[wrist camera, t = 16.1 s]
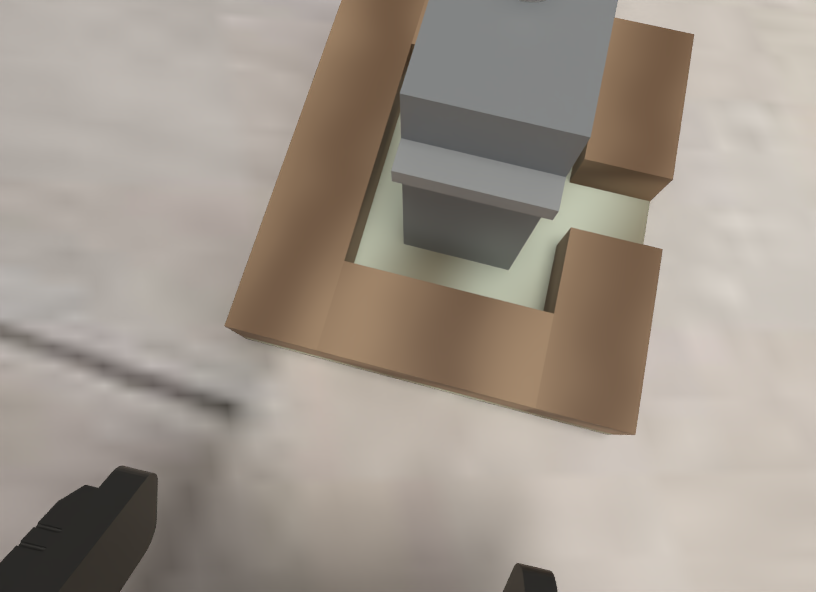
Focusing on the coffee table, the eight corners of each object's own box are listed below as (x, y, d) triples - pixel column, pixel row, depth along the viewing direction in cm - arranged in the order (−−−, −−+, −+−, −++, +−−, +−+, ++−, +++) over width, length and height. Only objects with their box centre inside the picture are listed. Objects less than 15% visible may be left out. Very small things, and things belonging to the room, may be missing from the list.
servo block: (397, 265, 22) (386, 103, 11) (443, 103, 23) (472, -169, 13) (503, 292, 21) (598, 152, 11) (541, 125, 23) (654, -135, 13)
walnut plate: (246, 338, 21) (224, 325, 19) (360, 8, 26) (355, -38, 23) (607, 434, 20) (635, 434, 18) (665, 75, 25) (694, 34, 22)
